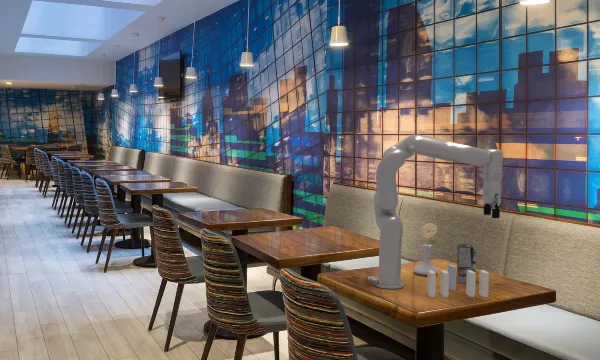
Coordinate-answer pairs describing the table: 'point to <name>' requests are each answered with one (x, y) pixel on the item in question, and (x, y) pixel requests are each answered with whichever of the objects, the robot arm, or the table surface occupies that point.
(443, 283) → the domino
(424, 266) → the flower in vase
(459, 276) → the coffee box
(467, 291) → the domino
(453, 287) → the domino
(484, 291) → the domino
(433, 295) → the domino
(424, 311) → the table surface
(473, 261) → the beverage can
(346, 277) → the table surface
